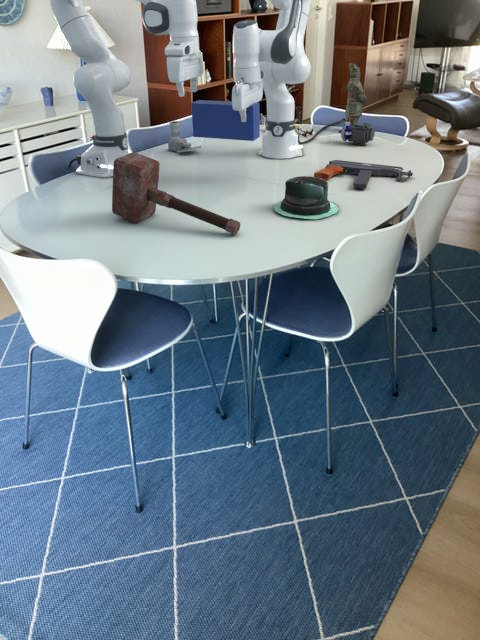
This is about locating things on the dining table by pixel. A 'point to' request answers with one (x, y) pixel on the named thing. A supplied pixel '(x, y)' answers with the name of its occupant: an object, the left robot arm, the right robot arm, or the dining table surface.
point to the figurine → (302, 131)
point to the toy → (357, 133)
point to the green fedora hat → (306, 199)
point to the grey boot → (178, 140)
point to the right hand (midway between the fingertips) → (248, 119)
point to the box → (224, 121)
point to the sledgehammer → (152, 194)
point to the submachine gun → (360, 171)
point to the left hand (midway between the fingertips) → (188, 94)
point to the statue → (354, 96)
